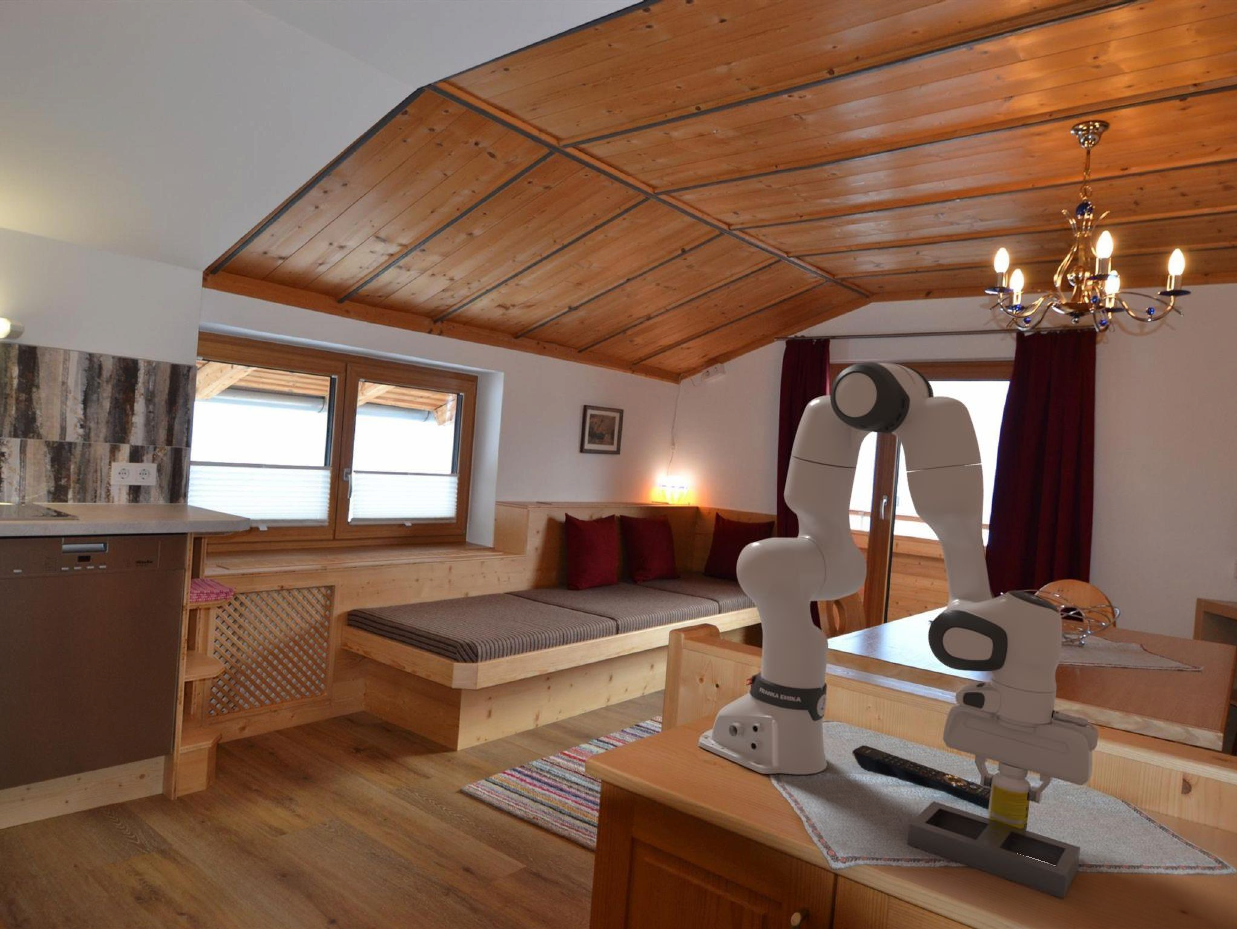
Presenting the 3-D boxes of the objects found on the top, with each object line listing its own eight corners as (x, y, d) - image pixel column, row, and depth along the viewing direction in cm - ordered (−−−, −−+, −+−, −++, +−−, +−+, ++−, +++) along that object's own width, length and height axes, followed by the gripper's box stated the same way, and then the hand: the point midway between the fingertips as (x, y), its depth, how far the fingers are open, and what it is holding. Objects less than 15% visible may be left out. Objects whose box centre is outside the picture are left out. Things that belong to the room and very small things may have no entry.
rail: (907, 844, 124) (909, 823, 124) (931, 820, 133) (933, 801, 132) (1063, 899, 112) (1065, 876, 112) (1078, 868, 121) (1080, 847, 121)
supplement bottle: (1030, 839, 127) (1037, 773, 127) (991, 832, 129) (998, 767, 128) (1021, 823, 133) (1027, 759, 132) (983, 817, 134) (989, 754, 133)
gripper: (1102, 717, 126) (1091, 810, 127) (956, 681, 138) (947, 767, 139) (1096, 727, 121) (1084, 824, 122) (945, 689, 133) (935, 778, 134)
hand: (1010, 793), depth 130 cm, fingers closed on supplement bottle, 5 cm apart
